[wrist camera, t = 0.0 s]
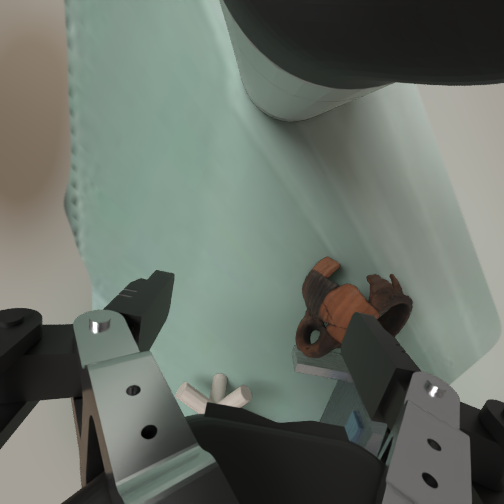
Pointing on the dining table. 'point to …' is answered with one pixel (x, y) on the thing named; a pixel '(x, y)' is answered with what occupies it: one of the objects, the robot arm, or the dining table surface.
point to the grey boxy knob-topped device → (342, 399)
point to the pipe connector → (213, 395)
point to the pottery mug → (346, 308)
